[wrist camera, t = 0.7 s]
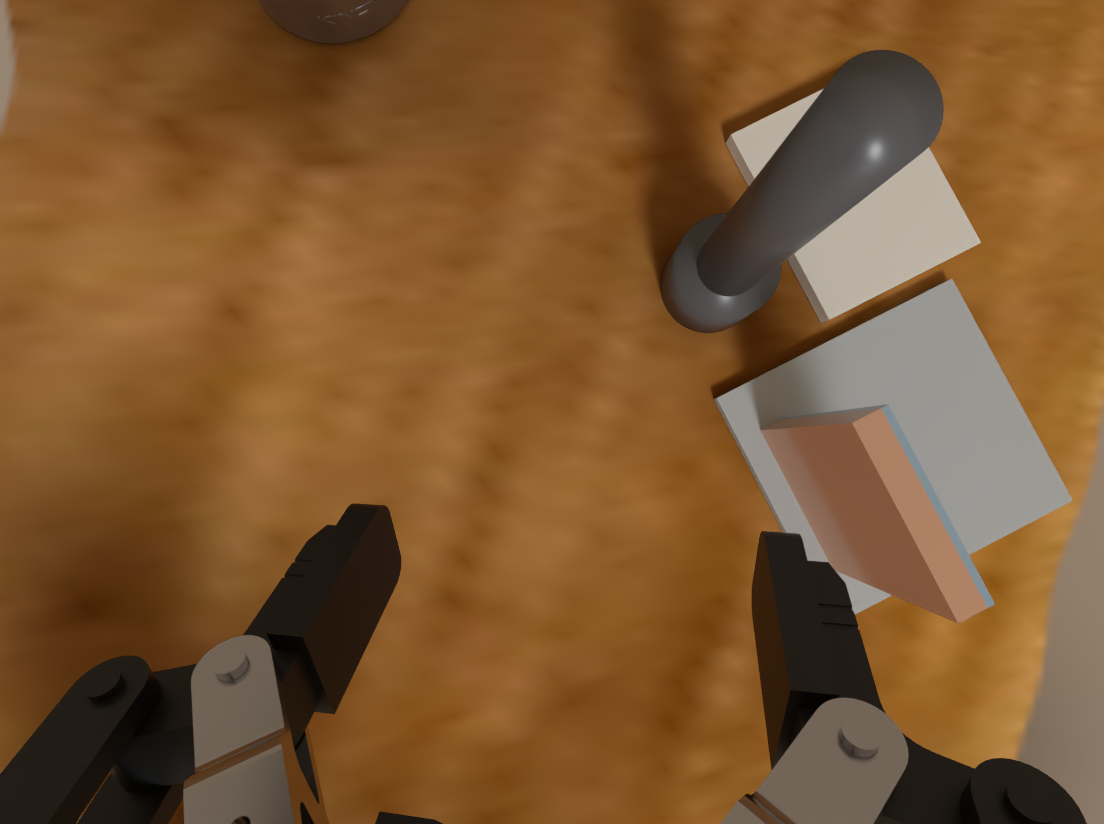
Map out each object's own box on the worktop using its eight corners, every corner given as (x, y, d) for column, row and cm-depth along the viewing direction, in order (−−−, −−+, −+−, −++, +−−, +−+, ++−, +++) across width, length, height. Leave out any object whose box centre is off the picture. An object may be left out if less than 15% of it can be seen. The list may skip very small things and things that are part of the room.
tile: (760, 430, 33) (852, 423, 23) (785, 417, 33) (888, 404, 23) (833, 569, 33) (958, 623, 23) (858, 556, 33) (994, 604, 23)
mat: (713, 399, 34) (716, 398, 33) (944, 281, 34) (952, 278, 34) (829, 621, 33) (834, 625, 33) (1063, 499, 34) (1072, 500, 33)
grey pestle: (644, 266, 34) (750, 64, 16) (727, 224, 34) (923, -21, 16) (687, 348, 34) (844, 237, 16) (770, 307, 34) (1018, 150, 16)
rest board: (725, 143, 35) (730, 134, 34) (871, 71, 35) (880, 60, 34) (821, 323, 34) (829, 319, 33) (968, 248, 34) (981, 242, 33)
